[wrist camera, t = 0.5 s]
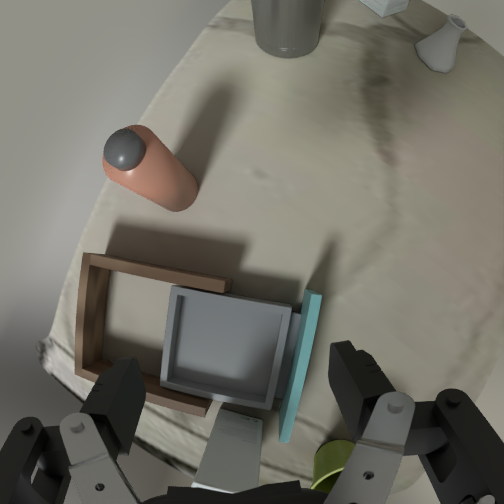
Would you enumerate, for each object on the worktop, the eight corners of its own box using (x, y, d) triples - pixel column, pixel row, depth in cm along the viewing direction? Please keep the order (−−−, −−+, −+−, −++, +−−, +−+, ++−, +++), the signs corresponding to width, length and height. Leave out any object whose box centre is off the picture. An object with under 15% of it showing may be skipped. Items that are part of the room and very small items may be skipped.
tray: (182, 267, 35) (162, 267, 29) (313, 290, 34) (322, 295, 27) (166, 391, 35) (147, 411, 28) (286, 415, 33) (288, 442, 27)
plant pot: (363, 418, 33) (383, 453, 24) (373, 466, 32) (390, 502, 24) (294, 441, 33) (297, 480, 25) (310, 486, 33) (316, 525, 24)
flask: (406, 41, 35) (426, 3, 25) (436, 40, 34) (458, 6, 24) (430, 75, 34) (457, 39, 24) (459, 72, 34) (487, 41, 24)
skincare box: (219, 406, 34) (189, 476, 20) (266, 419, 34) (259, 495, 19) (205, 453, 34) (176, 525, 19) (248, 465, 34) (235, 541, 19)
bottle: (163, 169, 36) (104, 118, 21) (201, 172, 36) (157, 117, 21) (154, 208, 36) (86, 176, 21) (193, 214, 36) (140, 180, 21)
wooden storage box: (104, 254, 36) (83, 252, 31) (232, 279, 35) (225, 281, 30) (94, 364, 36) (74, 374, 31) (213, 399, 34) (204, 417, 29)
